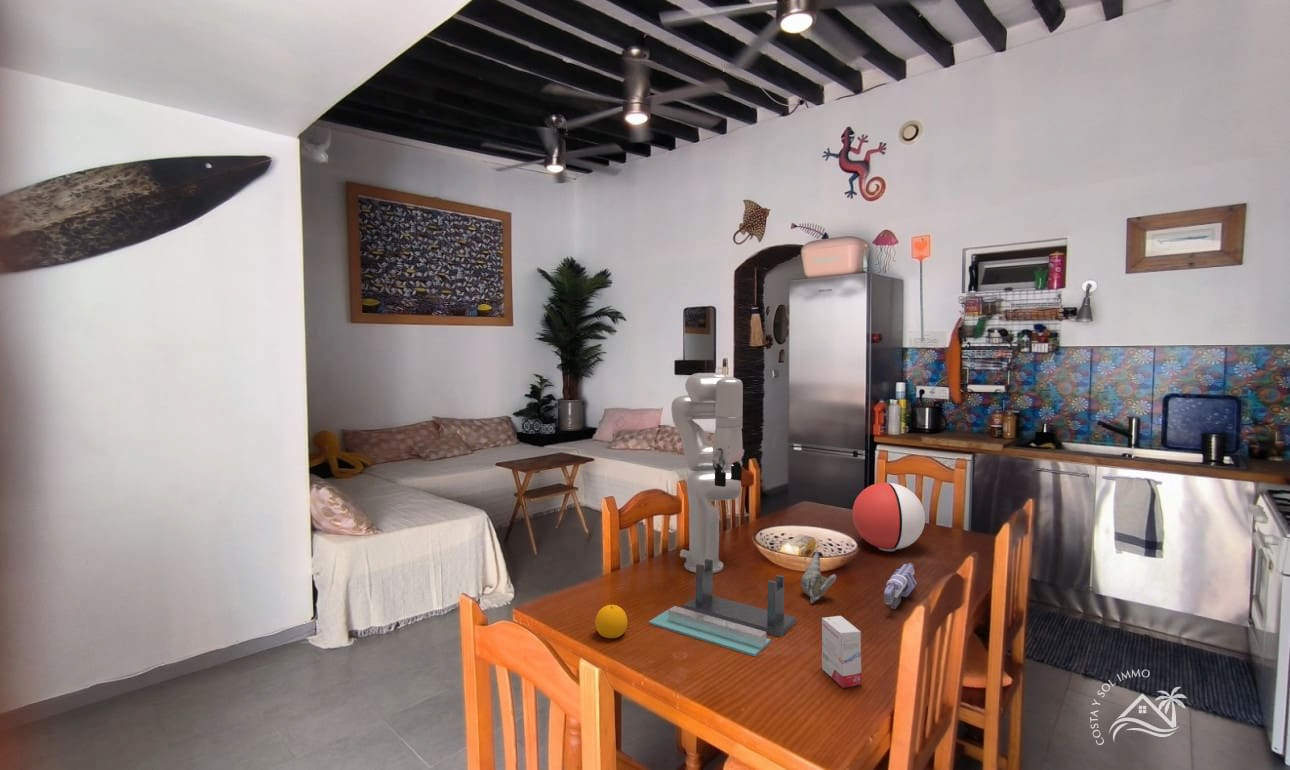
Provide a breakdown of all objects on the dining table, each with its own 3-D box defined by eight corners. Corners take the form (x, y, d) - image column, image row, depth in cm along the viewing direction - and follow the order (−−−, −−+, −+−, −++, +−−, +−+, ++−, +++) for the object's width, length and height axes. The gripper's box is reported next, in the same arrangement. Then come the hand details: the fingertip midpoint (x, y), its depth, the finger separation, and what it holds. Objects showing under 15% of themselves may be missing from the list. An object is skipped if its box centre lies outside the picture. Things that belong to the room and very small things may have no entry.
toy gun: (923, 588, 186) (923, 561, 186) (901, 621, 163) (901, 591, 163) (897, 582, 190) (898, 556, 190) (872, 615, 167) (873, 585, 167)
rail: (668, 621, 162) (668, 609, 162) (674, 617, 165) (674, 605, 164) (760, 649, 147) (760, 636, 147) (766, 644, 149) (766, 631, 149)
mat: (648, 623, 162) (648, 621, 162) (667, 611, 169) (667, 609, 169) (755, 656, 145) (755, 654, 145) (771, 641, 152) (771, 639, 152)
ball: (907, 539, 234) (935, 560, 210) (843, 538, 234) (864, 559, 211) (909, 476, 232) (937, 490, 209) (844, 476, 233) (865, 490, 209)
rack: (683, 610, 170) (684, 565, 170) (702, 598, 178) (702, 555, 178) (780, 637, 154) (781, 587, 153) (796, 622, 162) (796, 575, 162)
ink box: (862, 686, 132) (863, 631, 131) (840, 689, 131) (841, 634, 130) (840, 665, 141) (841, 614, 140) (820, 668, 139) (820, 616, 139)
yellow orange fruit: (622, 626, 160) (622, 597, 160) (631, 640, 153) (631, 610, 153) (592, 630, 158) (592, 601, 158) (599, 644, 151) (599, 614, 150)
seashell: (792, 601, 176) (793, 566, 176) (812, 582, 190) (813, 550, 190) (828, 609, 171) (828, 573, 170) (845, 589, 185) (846, 556, 184)
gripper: (731, 418, 184) (730, 476, 186) (701, 424, 170) (701, 486, 171) (754, 420, 180) (753, 479, 181) (726, 426, 166) (725, 490, 167)
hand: (728, 482), depth 176 cm, fingers open, 9 cm apart
